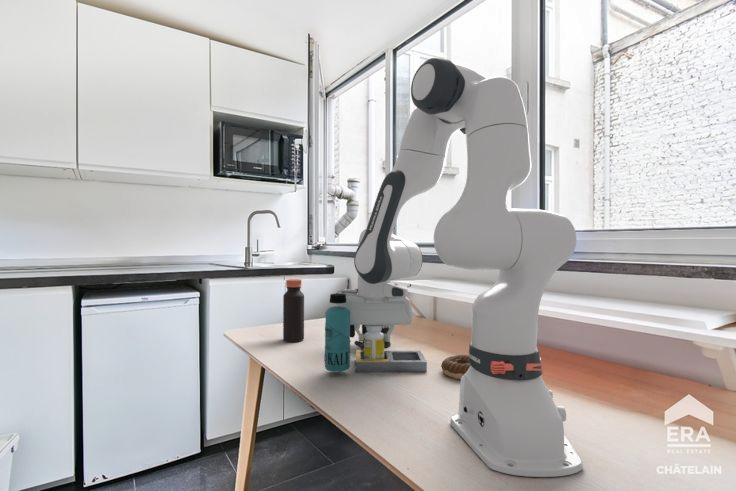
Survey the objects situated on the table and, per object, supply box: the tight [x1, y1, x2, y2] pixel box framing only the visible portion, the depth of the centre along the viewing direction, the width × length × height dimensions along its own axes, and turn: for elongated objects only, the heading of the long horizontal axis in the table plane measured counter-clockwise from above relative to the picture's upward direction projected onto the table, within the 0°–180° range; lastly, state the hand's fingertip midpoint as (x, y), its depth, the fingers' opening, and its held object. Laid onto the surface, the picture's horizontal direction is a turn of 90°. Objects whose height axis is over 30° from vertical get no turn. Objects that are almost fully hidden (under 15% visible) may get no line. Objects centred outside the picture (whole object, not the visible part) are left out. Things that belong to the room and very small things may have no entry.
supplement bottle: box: [363, 325, 385, 359], centre depth 100 cm, size 5×5×10 cm
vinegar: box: [282, 278, 305, 343], centre depth 125 cm, size 7×7×20 cm
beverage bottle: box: [323, 292, 351, 373], centre depth 94 cm, size 6×7×20 cm
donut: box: [440, 354, 470, 381], centre depth 94 cm, size 11×11×4 cm
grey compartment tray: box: [355, 349, 428, 373], centre depth 101 cm, size 10×18×3 cm, turn 91°
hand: (374, 341), depth 100 cm, fingers closed on supplement bottle, 5 cm apart
